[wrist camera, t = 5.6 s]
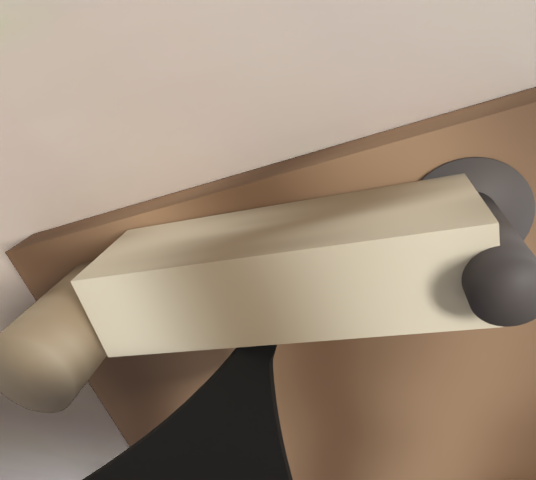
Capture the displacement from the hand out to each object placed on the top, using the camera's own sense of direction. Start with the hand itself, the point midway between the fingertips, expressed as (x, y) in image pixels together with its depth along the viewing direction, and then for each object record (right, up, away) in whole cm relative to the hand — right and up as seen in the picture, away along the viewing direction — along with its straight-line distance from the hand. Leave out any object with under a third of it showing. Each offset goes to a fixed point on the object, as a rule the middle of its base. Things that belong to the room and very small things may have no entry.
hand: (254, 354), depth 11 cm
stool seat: (+2, -1, +3) cm, 4 cm away
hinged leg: (+1, +3, 0) cm, 3 cm away
